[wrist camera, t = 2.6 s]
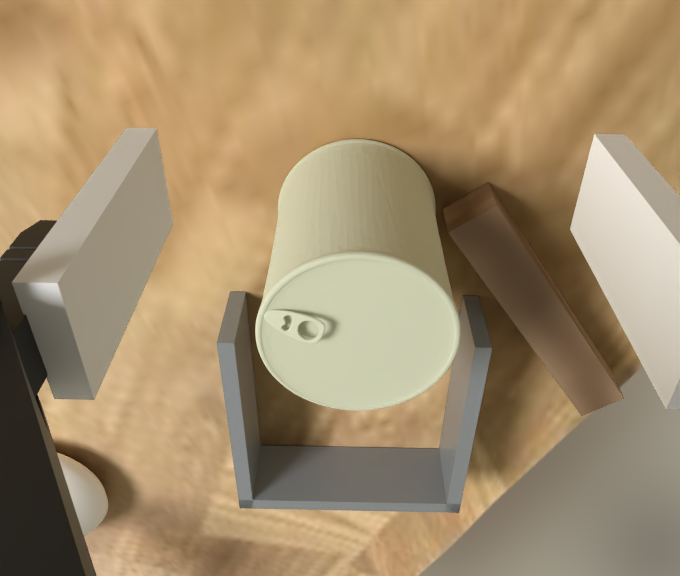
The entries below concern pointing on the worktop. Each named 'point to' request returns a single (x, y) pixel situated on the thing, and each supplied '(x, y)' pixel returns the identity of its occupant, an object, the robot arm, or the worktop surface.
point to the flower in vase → (85, 493)
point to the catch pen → (352, 462)
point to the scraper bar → (530, 298)
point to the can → (357, 281)
